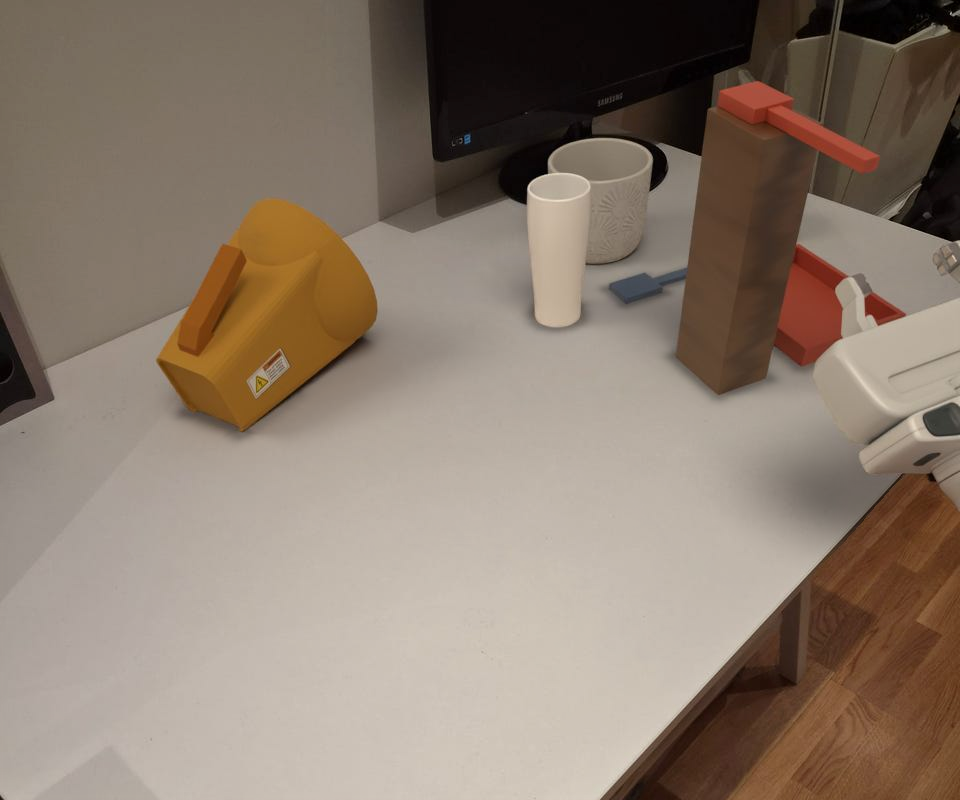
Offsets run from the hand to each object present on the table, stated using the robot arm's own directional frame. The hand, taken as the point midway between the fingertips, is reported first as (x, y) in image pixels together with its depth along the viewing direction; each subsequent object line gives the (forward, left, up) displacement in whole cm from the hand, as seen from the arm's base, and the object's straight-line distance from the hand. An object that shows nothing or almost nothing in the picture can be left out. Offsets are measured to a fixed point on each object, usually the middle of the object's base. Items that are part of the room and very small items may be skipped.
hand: (897, 263), depth 67 cm
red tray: (-14, -23, -20) cm, 34 cm away
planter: (-2, -48, -20) cm, 52 cm away
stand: (0, -18, -20) cm, 27 cm away
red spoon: (0, -13, +5) cm, 14 cm away
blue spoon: (-7, -36, -20) cm, 42 cm away
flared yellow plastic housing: (+43, -41, -20) cm, 63 cm away
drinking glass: (+10, -36, -20) cm, 43 cm away
